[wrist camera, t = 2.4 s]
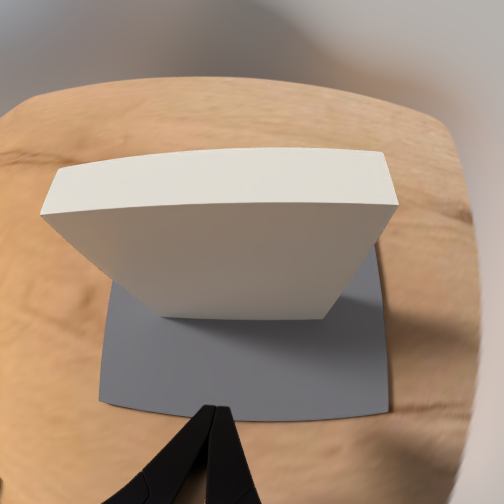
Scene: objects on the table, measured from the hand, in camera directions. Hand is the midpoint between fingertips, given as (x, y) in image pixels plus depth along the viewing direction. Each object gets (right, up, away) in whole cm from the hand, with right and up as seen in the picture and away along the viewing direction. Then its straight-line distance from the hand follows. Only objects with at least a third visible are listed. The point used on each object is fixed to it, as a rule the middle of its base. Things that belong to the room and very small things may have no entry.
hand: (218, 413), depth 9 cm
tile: (0, +2, +10) cm, 10 cm away
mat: (0, +3, +11) cm, 11 cm away
